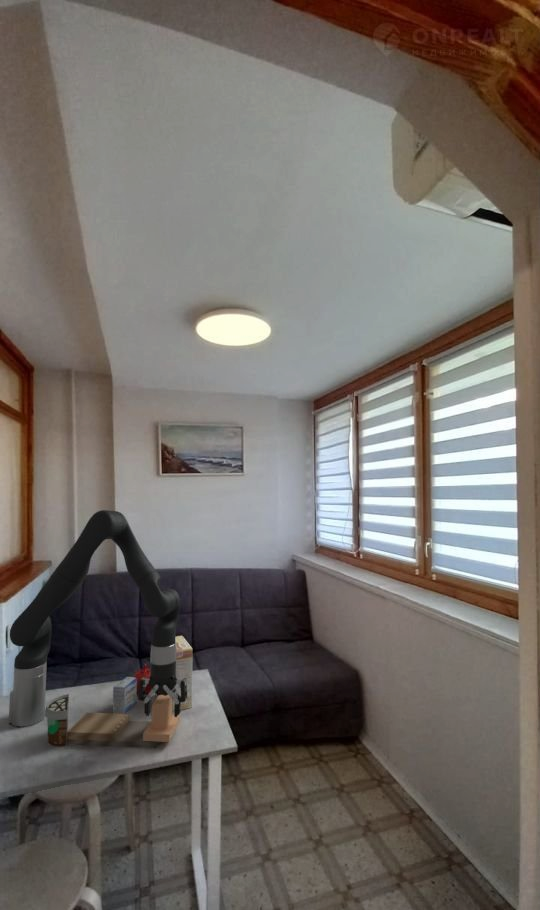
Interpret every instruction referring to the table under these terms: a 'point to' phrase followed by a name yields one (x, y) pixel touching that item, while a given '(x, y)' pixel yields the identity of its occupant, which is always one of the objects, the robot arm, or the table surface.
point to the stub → (161, 721)
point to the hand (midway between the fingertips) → (162, 715)
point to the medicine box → (124, 695)
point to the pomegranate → (140, 675)
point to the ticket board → (124, 737)
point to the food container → (57, 720)
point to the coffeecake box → (183, 669)
